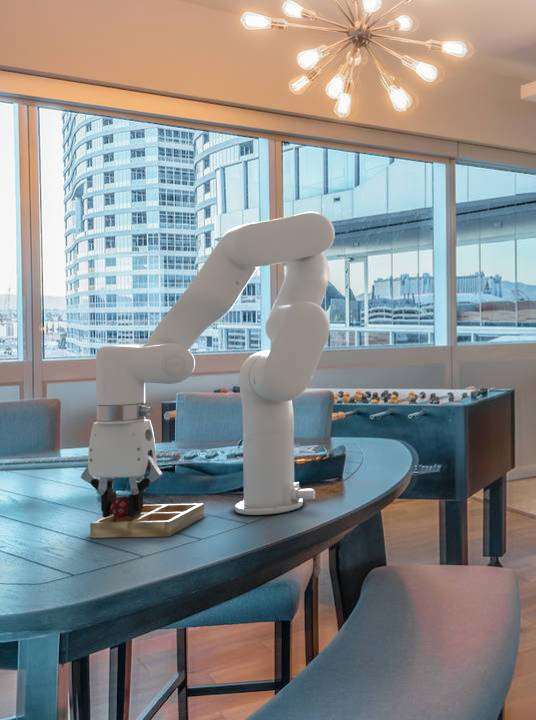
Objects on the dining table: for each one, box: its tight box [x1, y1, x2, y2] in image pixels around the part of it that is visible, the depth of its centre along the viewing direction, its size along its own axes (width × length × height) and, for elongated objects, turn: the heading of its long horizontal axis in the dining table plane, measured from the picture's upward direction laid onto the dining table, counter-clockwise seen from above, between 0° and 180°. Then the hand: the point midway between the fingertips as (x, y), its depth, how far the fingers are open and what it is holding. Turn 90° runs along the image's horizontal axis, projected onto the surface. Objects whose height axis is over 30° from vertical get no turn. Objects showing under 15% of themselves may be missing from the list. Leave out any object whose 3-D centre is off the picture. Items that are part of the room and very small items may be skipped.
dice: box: [109, 495, 128, 518], centre depth 144 cm, size 4×4×4 cm
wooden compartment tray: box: [89, 503, 205, 539], centre depth 148 cm, size 14×14×3 cm
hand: (122, 514), depth 144 cm, fingers closed on dice, 3 cm apart
